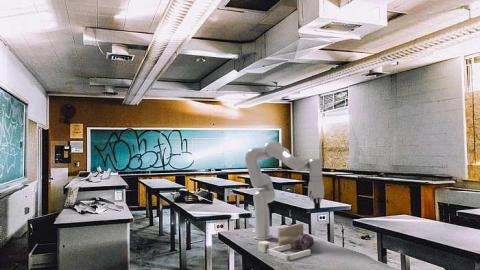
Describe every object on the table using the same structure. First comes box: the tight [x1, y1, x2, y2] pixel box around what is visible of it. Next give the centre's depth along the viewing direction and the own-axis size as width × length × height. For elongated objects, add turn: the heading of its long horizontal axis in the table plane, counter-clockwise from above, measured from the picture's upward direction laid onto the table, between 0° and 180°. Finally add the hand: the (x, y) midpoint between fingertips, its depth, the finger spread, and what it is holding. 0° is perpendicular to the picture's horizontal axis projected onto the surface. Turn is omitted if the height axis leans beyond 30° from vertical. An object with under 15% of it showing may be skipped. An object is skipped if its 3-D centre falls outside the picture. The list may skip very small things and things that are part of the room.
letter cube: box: [257, 240, 271, 253], centre depth 222 cm, size 5×5×5 cm
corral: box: [266, 244, 312, 261], centre depth 214 cm, size 17×18×2 cm
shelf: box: [275, 223, 304, 248], centre depth 231 cm, size 6×20×12 cm, turn 127°
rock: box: [294, 232, 315, 251], centre depth 223 cm, size 12×9×10 cm
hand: (317, 209), depth 230 cm, fingers closed
